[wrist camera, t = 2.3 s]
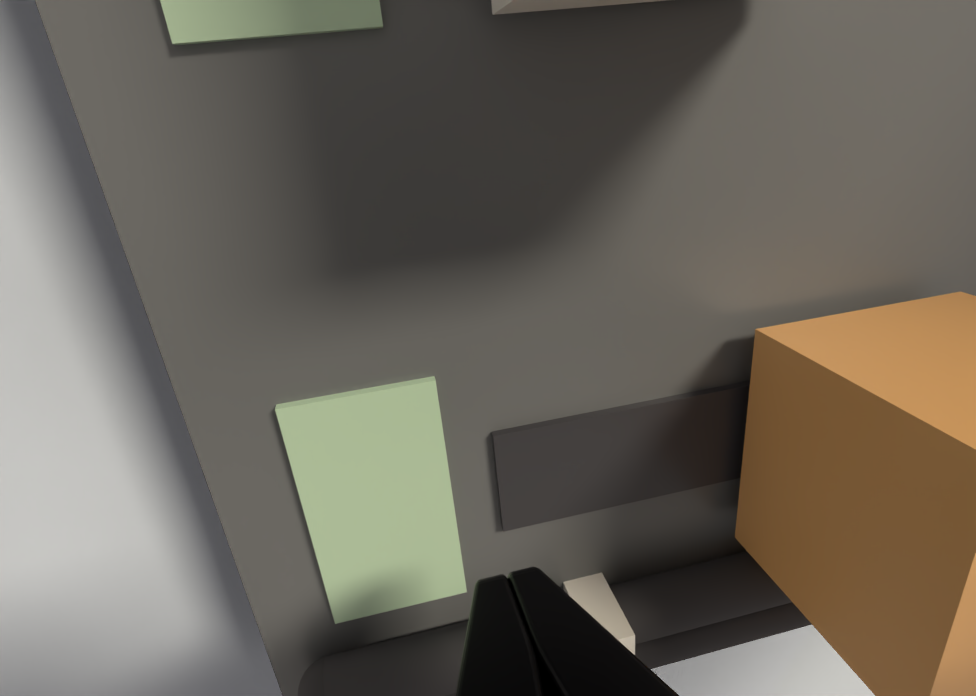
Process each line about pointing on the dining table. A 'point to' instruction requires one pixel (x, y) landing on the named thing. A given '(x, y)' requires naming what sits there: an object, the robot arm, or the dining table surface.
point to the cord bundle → (618, 608)
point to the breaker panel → (503, 265)
